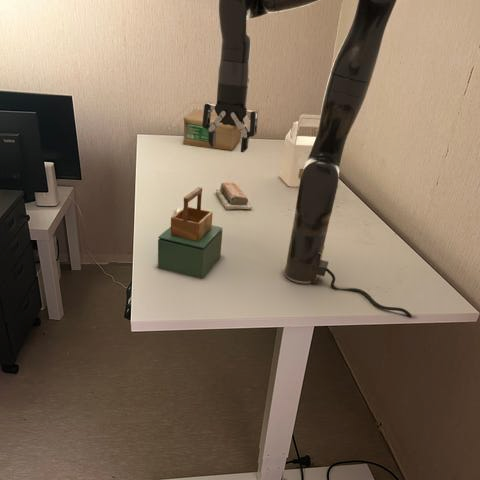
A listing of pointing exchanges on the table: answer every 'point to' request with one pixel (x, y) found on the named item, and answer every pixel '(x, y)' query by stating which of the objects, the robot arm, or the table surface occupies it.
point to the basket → (192, 219)
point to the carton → (188, 254)
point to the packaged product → (232, 197)
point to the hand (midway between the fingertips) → (227, 149)
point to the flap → (214, 231)
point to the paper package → (200, 136)
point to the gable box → (297, 149)
